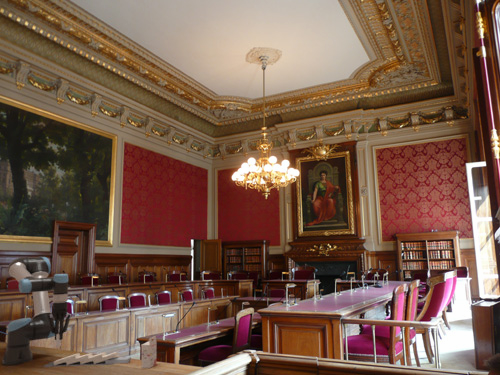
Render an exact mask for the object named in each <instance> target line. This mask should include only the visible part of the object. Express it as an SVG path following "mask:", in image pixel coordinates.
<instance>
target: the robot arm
mask: <svg viewBox="0 0 500 375" xmlns="http://www.w3.org/2000/svg"><path fill="white" fill-rule="evenodd" d="M51 267H52V266H51V261H50V260H49V258H48V257H46V256H31V257H30V256H29V257H28V256H26V257H24V256H23V257H21V256H20V257H18V258H15V259H14V260H12V261H11V262H10V263H9V265H8V267H7V273H8V274H9V275H10V277H12V278H14V279H15V280H16V281H17V282H18V290H19V292H20V294H21V293H22V294H24V293H25V294H27V293H29V294H30V293H32V301H33V308H34V316H33V317H32V318H31V317H23V318H19V319H15V320H12V321H10V322H9V323H8V325H7V338H6V348H5V352H4V354H3V357H2V362H1V363H2V365H5V366H10V365H11V366H13V365H21V364H24V363H28V362H30V361H32V360H33V353H32V350H31V349H32V348H31V345H30V344H31V341H38V340H46V339H51V338H54V340H55V341H56V342H55V347H56V348H57V347H61V346H62V340H64V333H66V332H67V331H68V327H69V324H70V319H71V317H72V316H73V315H72V313H69V311H68V302H67V301H68V298H69V297H68V296H69V292H68V290H69V274H68V273H55V274H54V275H53V276H51V277H49V275H50V273H51V270H52V269H51ZM51 291H52V302H53V303H52V311H51V306H50V299H49V292H51Z"/></svg>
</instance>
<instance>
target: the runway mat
mask: <svg viewBox="0 0 500 375" xmlns="http://www.w3.org/2000/svg"><path fill="white" fill-rule="evenodd" d="M105 361H106V360H105ZM105 361H102V362H99V363H96V364H94V362H93V361H90V362H87V363H84V364H80V361H79V362H75V363H72V364H69V365H67V363H66V362H64V363H61V364H57V365H54V363H53V362H54V361H50V362H49V363H47V364H44V365H43V366H42V368H46V367H47V368H49V367H50V368H51V367H52V368H53V367H75V366H76V367H77V366H80V367H81V366H105V365H107V366H109V365H110V366H112V365H115V364H116V363H113V364H105Z"/></svg>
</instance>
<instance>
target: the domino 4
mask: <svg viewBox="0 0 500 375" xmlns="http://www.w3.org/2000/svg"><path fill="white" fill-rule="evenodd" d="M119 355H120V353H119V350H117V351H114V352H111V353H109V354H106V356H104V357H103V358H100V359H97V360H94V361H93V362H94V364H96V363H99V362H102V361H105V360H108V359H111V358H114V357H118V356H119Z"/></svg>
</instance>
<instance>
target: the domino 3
mask: <svg viewBox="0 0 500 375" xmlns="http://www.w3.org/2000/svg"><path fill="white" fill-rule="evenodd" d="M106 355H107V353H106V351H104V352H101V353H97V354H94V355H93V356H92V357H90V358H89V359H85V360H82V361H80V364H84V363H87V362H90V361H94V360H97V359H100V358H103V357H104V356H106Z"/></svg>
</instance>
